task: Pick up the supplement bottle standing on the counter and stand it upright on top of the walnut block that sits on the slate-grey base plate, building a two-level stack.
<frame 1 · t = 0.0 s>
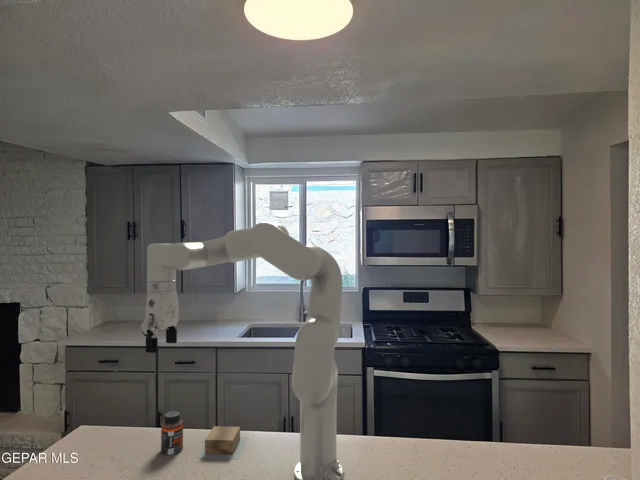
hand: (161, 347, 111), 31 cm above the countertop, tool pointing down, fingers open, 9 cm apart
supplement bottle: (172, 453, 114), on the countertop
base plate: (223, 450, 115), on the countertop
walnut block: (223, 446, 115), point 1 cm above the countertop, touching base plate
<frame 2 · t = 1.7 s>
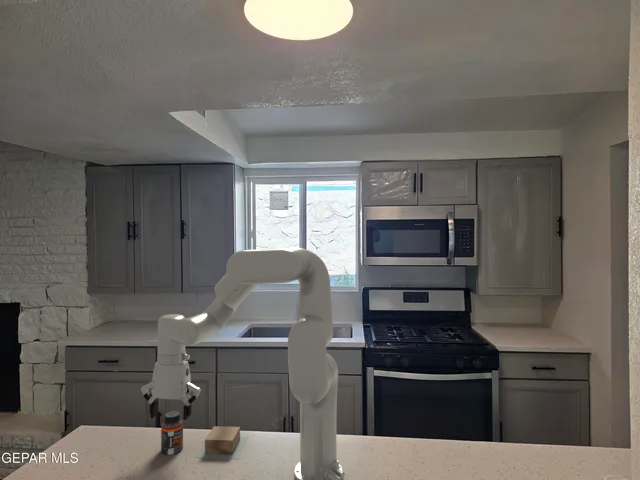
hand: (170, 417, 114), 10 cm above the countertop, tool pointing down, fingers open, 9 cm apart
nothing on the countertop moved.
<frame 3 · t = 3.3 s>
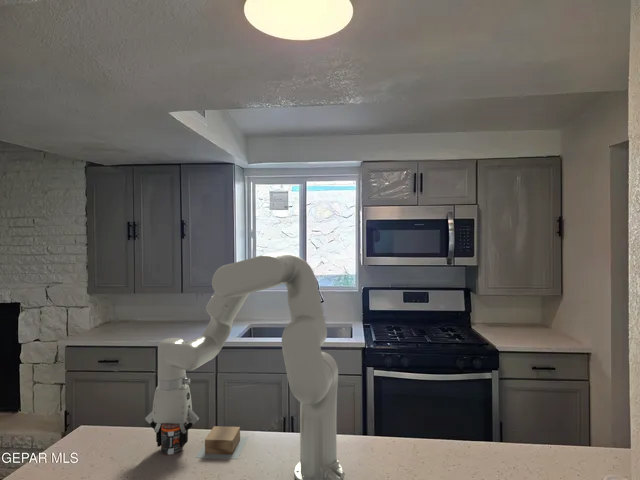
hand: (172, 444, 114), 3 cm above the countertop, tool pointing down, fingers closed on supplement bottle, 6 cm apart
supplement bottle: (172, 453, 114), on the countertop, touching gripper
everything else where it was.
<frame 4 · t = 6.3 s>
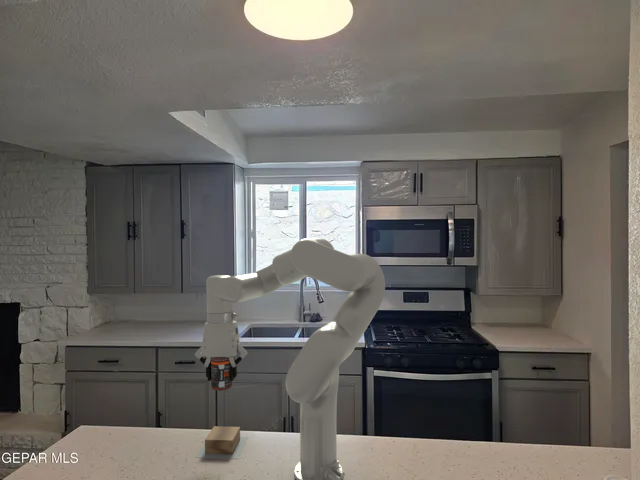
hand: (221, 378, 115), 21 cm above the countertop, tool pointing down, fingers closed on supplement bottle, 6 cm apart
supplement bottle: (221, 388, 115), point 18 cm above the countertop, touching gripper
everything else where it was.
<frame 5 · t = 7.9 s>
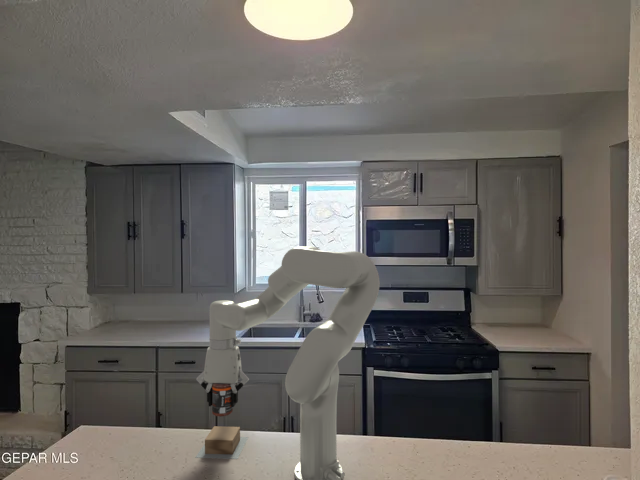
hand: (222, 404, 115), 13 cm above the countertop, tool pointing down, fingers closed on supplement bottle, 6 cm apart
supplement bottle: (222, 413, 115), point 11 cm above the countertop, touching gripper
everything else where it was.
when the fingers open (9 cm above the countertop, at t = 9.2 s): supplement bottle drops 1 cm, resting on walnut block.
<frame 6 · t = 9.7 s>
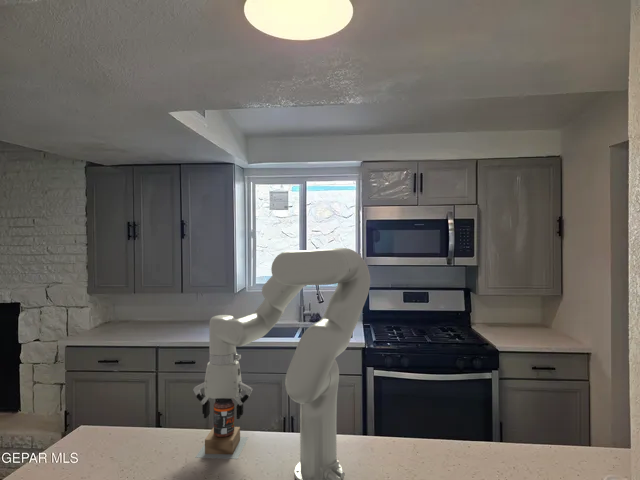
hand: (222, 416, 115), 10 cm above the countertop, tool pointing down, fingers open, 9 cm apart
supplement bottle: (224, 433, 115), point 5 cm above the countertop, touching walnut block
walnut block: (223, 446, 115), point 1 cm above the countertop, touching base plate, supplement bottle
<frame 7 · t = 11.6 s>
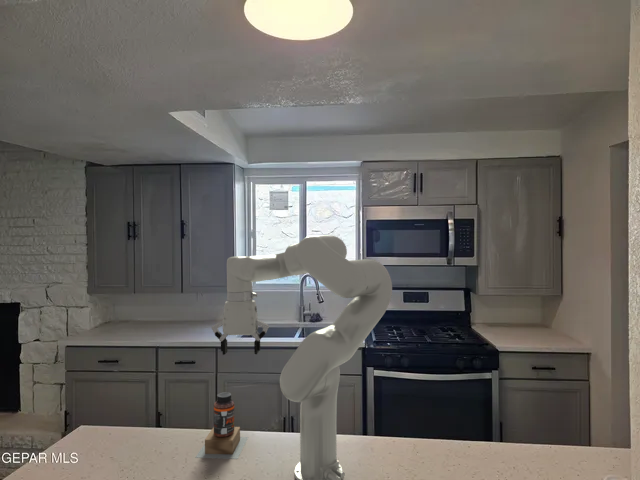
hand: (240, 353, 120), 27 cm above the countertop, tool pointing down, fingers open, 9 cm apart
nothing on the countertop moved.
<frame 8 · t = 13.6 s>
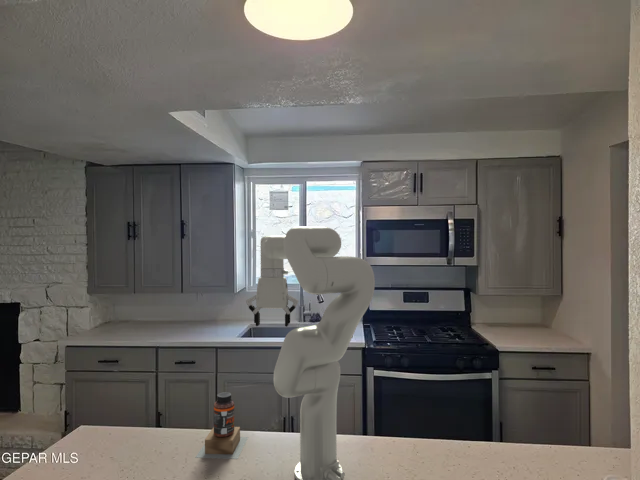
hand: (272, 325, 130), 33 cm above the countertop, tool pointing down, fingers open, 9 cm apart
nothing on the countertop moved.
at the end: supplement bottle 0.3 cm off-centre on the walnut block, point 3.8 cm above the walnut block's base; supplement bottle tilted 0°; supplement bottle touching walnut block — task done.
